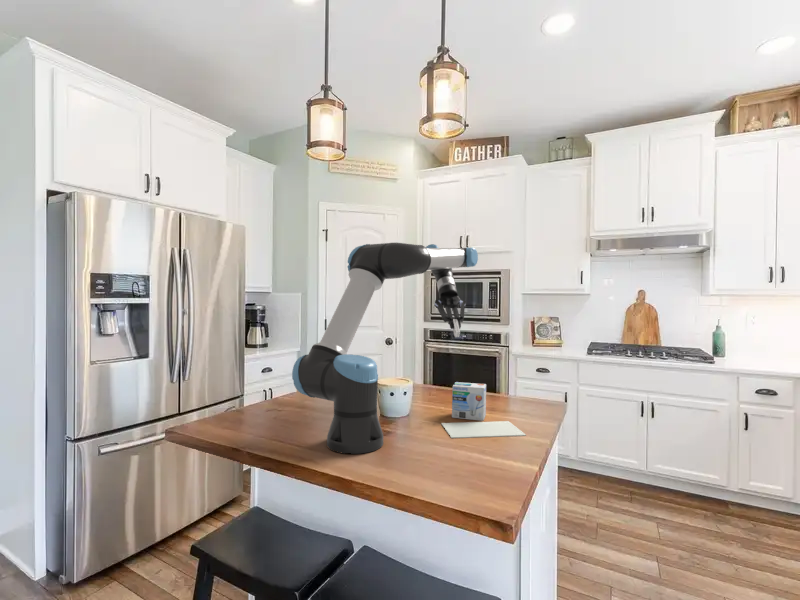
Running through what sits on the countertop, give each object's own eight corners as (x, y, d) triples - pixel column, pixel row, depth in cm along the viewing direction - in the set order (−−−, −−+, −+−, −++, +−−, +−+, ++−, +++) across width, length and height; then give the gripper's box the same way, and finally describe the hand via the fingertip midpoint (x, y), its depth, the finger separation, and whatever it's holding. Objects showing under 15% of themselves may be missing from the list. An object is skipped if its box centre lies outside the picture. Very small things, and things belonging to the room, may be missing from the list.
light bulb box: (451, 418, 137) (451, 385, 136) (454, 412, 143) (455, 381, 143) (484, 421, 133) (484, 387, 133) (486, 415, 140) (486, 383, 140)
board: (451, 438, 117) (451, 437, 117) (441, 424, 130) (441, 423, 130) (525, 435, 120) (525, 434, 120) (508, 422, 133) (508, 421, 133)
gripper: (461, 296, 174) (472, 340, 157) (430, 296, 172) (438, 341, 156) (464, 283, 168) (476, 328, 152) (432, 283, 167) (441, 328, 151)
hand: (457, 334), depth 154 cm, fingers closed
